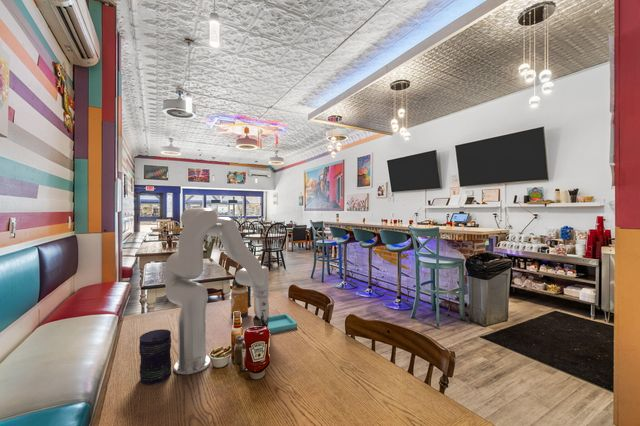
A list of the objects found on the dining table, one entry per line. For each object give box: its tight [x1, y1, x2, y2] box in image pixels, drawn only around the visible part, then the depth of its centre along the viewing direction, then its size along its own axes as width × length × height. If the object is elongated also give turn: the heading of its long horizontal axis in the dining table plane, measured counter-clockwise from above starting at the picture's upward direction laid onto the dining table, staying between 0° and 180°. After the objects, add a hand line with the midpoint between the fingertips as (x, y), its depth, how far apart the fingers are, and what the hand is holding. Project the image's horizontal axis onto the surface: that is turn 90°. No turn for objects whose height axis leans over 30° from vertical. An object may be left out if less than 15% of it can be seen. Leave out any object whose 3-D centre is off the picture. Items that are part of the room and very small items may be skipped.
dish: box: [268, 313, 298, 335], centre depth 148 cm, size 15×15×2 cm
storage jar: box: [138, 328, 172, 386], centre depth 104 cm, size 10×10×15 cm
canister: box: [230, 279, 252, 318], centre depth 163 cm, size 9×11×20 cm
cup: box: [252, 315, 269, 327], centre depth 139 cm, size 8×7×8 cm
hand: (260, 329), depth 139 cm, fingers closed on cup, 6 cm apart
